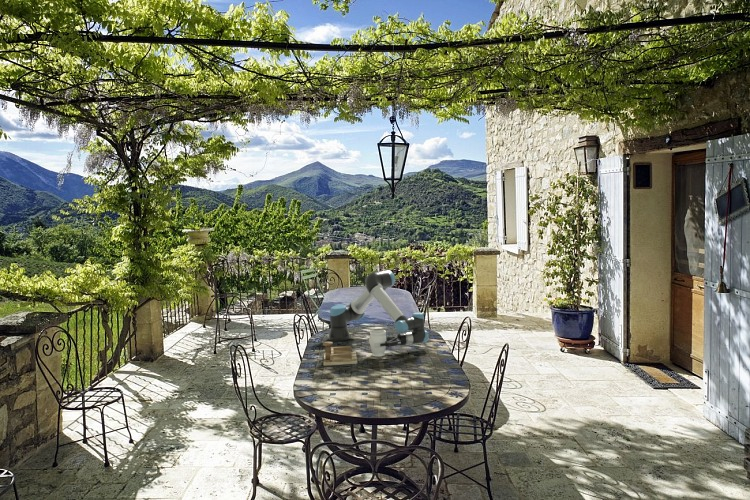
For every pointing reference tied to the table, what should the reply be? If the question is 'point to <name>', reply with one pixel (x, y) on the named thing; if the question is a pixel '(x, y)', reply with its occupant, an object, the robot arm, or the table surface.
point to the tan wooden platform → (338, 355)
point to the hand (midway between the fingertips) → (371, 343)
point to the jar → (377, 337)
